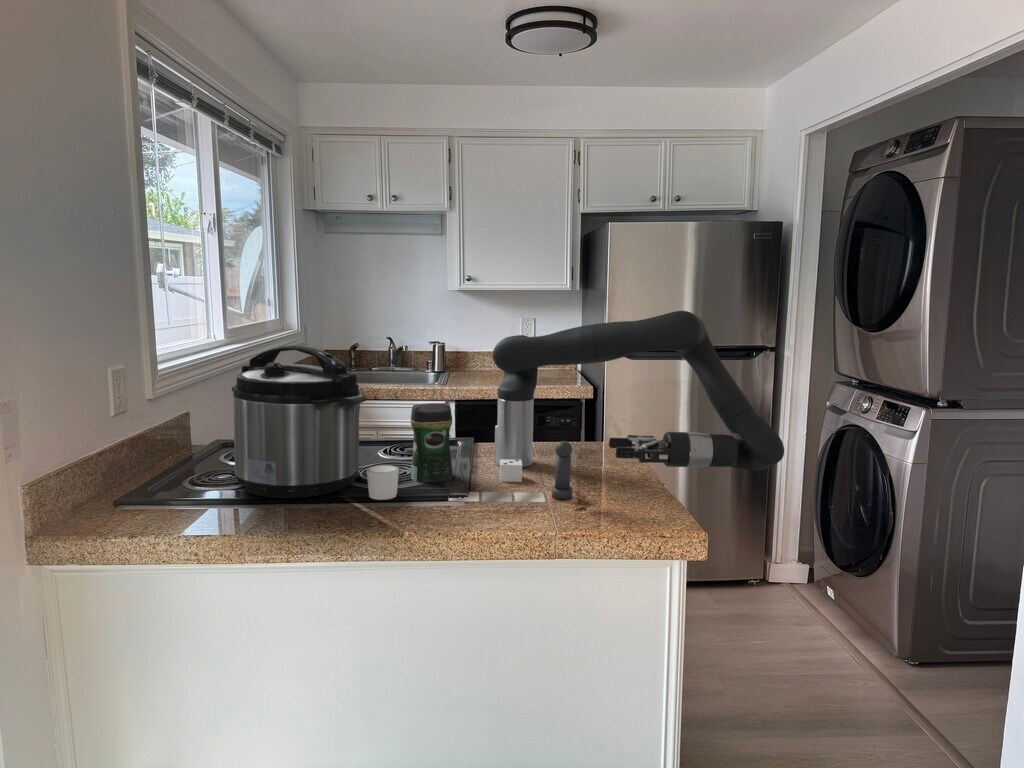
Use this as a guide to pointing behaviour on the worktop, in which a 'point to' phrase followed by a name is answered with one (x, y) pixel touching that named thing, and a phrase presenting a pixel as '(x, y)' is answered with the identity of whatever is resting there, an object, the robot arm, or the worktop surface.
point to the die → (510, 470)
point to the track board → (518, 497)
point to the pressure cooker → (296, 425)
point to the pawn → (562, 472)
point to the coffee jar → (431, 442)
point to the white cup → (382, 481)
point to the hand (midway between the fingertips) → (612, 447)
